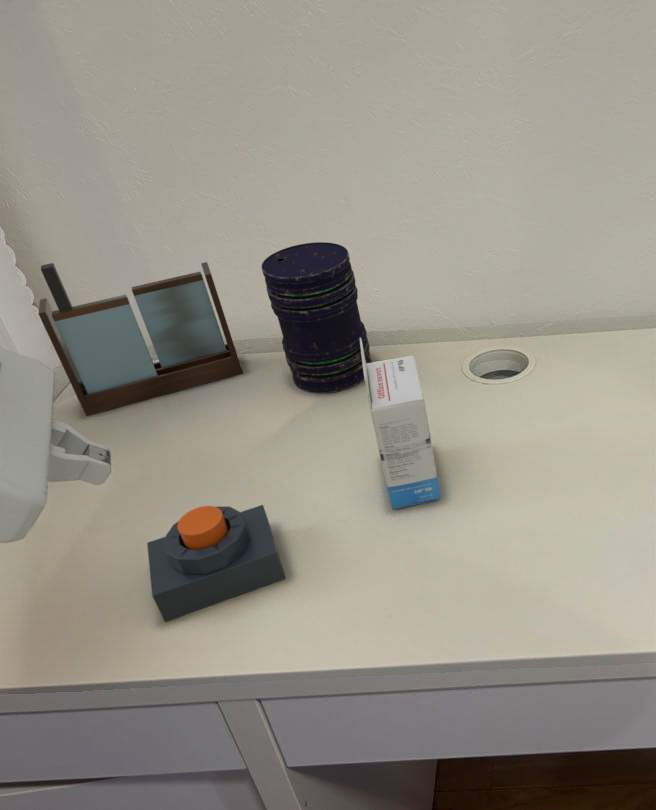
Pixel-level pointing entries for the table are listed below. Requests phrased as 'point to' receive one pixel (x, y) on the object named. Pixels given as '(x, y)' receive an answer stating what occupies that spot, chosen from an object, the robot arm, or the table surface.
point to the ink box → (401, 430)
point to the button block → (214, 564)
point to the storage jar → (318, 315)
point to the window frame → (164, 342)
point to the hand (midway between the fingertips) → (107, 467)
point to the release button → (202, 527)
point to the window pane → (100, 338)
